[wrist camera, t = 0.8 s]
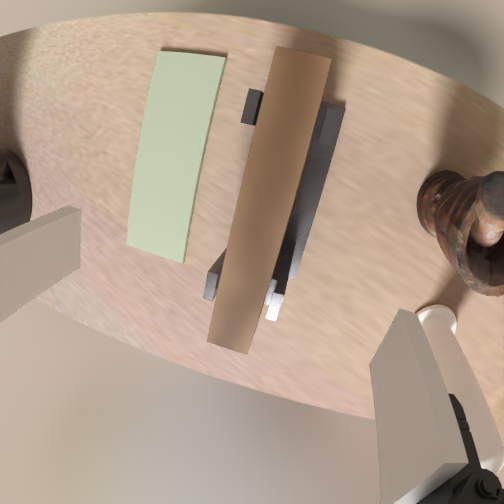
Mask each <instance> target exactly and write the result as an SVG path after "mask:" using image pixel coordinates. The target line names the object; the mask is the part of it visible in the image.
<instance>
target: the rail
mask: <svg viewBox="0 0 504 504" xmlns="http://www.w3.org/2000/svg"><path fill="white" fill-rule="evenodd" d="M331 60H332V59H330V58H327V57H323V56H319V55H315V54H311V53H307V52H303V51H298V50H294V49H289V48H285V47H280V46H276V49H275V53H274V57H273V61H272V64H271V68H270V72H269V76H268V80H267V84H266V87H265V91H264V95H263V99H262V103H261V107H260V111H259V115H258V119H257V123H256V127H255V131H254V135H253V139H252V143H251V147H250V151H249V155H248V159H247V164H246V168H245V172H244V176H243V180H242V185H241V189H240V193H239V197H238V202H237V206H236V210H235V214H234V219H233V223H232V228H231V232H230V236H229V241H228V245H227V250H226V254H225V259H224V263H223V268H222V272H221V277H220V281H219V286H218V291H217V295H216V300H215V305H214V309H213V314H212V319H211V323H210V328H209V333H208V338H207V342H210V343H213V344H216V345H219V346H222V347H225V348H228V349H231V350H234V351H237V352H240V353H243V354H246V355H247V354H248V351H249V348H250V345H251V342H252V339H253V336H254V333H255V330H256V327H257V324H258V321H259V317H260V314H261V311H262V308H263V305H264V301H265V298H266V295H267V291H268V288H269V285H270V282H271V278H272V275H273V272H274V268H275V265H276V262H277V258H278V255H279V252H280V248H281V245H282V241H283V238H284V235H285V231H286V228H287V224H288V221H289V217H290V214H291V210H292V207H293V203H294V200H295V196H296V193H297V189H298V186H299V182H300V179H301V175H302V172H303V168H304V164H305V161H306V157H307V154H308V150H309V146H310V143H311V139H312V135H313V132H314V128H315V124H316V120H317V117H318V113H319V109H320V105H321V102H322V98H323V94H324V90H325V86H326V82H327V78H328V75H329V71H330V65H331Z"/></svg>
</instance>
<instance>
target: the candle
mask: <svg viewBox="0 0 504 504" xmlns="http://www.w3.org/2000/svg"><path fill="white" fill-rule="evenodd" d="M416 314H417V316H418V318H419V320H420V322H421V325H422V327H423V329H424V332H425V334H426V337H427V339H428V342H429V344H430V346H431V349H432V351H433V354H434V357H435V359H436V362H437V364H438V367H439V370H440V372H441V375H442V378H443V381H444V383H445V386H446V389H447V392H448V393H450V394H454V395H455V397H456V398H457V399H458V401H459V402H460V404H461V405H462V407H463V410H464V412H465V415H466V418H467V419H466V421H468V424H469V427H470V430H469V431H470V432H471V434H472V437H473V440H474V444H475V447H476V450H477V454H478V457H479V461H480V465H481V468H482V469H488V470H489V471H491V472H493V473H494V474H495V475H497V474H498V472H499V471H500V469H501V468H502V466H503V465H504V446H503V443H502V441H501V438H500V435H499V432H498V430H497V427H496V424H495V422H494V419H493V417H492V414H491V412H490V409H489V407H488V405H487V402H486V400H485V398H484V395H483V393H482V391H481V388H480V386H479V384H478V382H477V380H476V377H475V375H474V373H473V371H472V369H471V367H470V365H469V363H468V361H467V359H466V357H465V355H464V353H463V351H462V349H461V347H460V345H459V343H458V341H457V339H456V337H455V335H454V333H455V331H456V327H457V320H456V317H455V315H454V313H453V311H452V310H451V309H450V308H448V307H446V306H444V305H431V306H427V307H425V308H423V309H421V310H420V311H418V312H417V313H416Z"/></svg>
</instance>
